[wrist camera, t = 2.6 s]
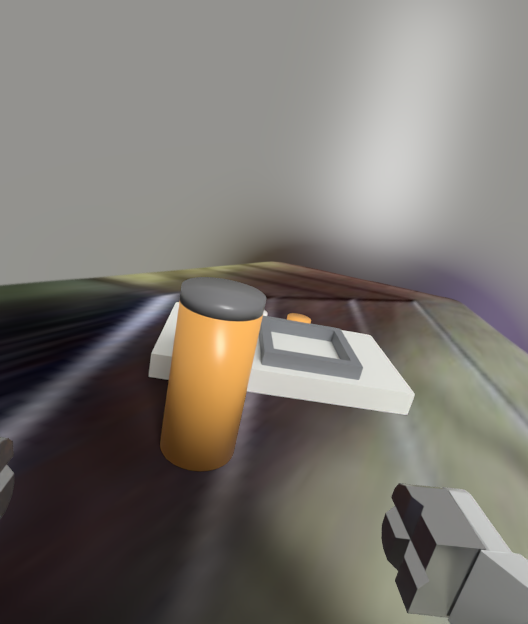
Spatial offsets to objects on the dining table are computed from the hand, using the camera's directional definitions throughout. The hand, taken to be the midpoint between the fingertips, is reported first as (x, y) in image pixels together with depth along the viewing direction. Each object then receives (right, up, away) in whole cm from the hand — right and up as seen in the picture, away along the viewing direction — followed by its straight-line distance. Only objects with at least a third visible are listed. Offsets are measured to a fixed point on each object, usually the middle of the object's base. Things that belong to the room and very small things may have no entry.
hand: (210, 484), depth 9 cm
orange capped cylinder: (-3, -4, +16) cm, 17 cm away
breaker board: (+2, -1, +29) cm, 29 cm away
